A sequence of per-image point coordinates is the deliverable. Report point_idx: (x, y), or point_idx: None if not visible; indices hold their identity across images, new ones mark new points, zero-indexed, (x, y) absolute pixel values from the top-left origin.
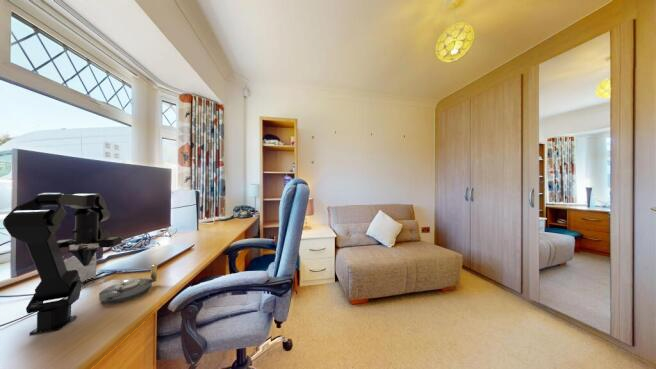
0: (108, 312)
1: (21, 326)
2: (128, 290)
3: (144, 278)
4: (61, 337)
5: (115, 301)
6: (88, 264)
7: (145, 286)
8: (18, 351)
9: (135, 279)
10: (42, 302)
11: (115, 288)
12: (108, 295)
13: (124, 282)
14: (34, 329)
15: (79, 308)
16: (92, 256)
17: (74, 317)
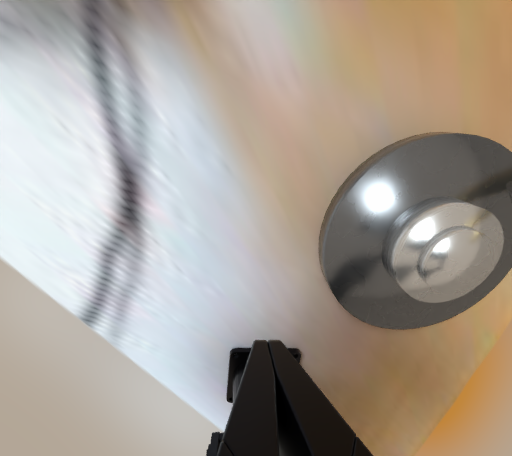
0: (380, 346)
1: (161, 352)
2: None
3: (499, 144)
4: None
5: None
6: (282, 350)
7: (504, 267)
8: None
9: (484, 230)
10: (218, 443)
11: (395, 281)
12: (373, 307)
13: (448, 290)
14: (227, 390)
15: (271, 292)
16: (351, 444)
17: (299, 361)
